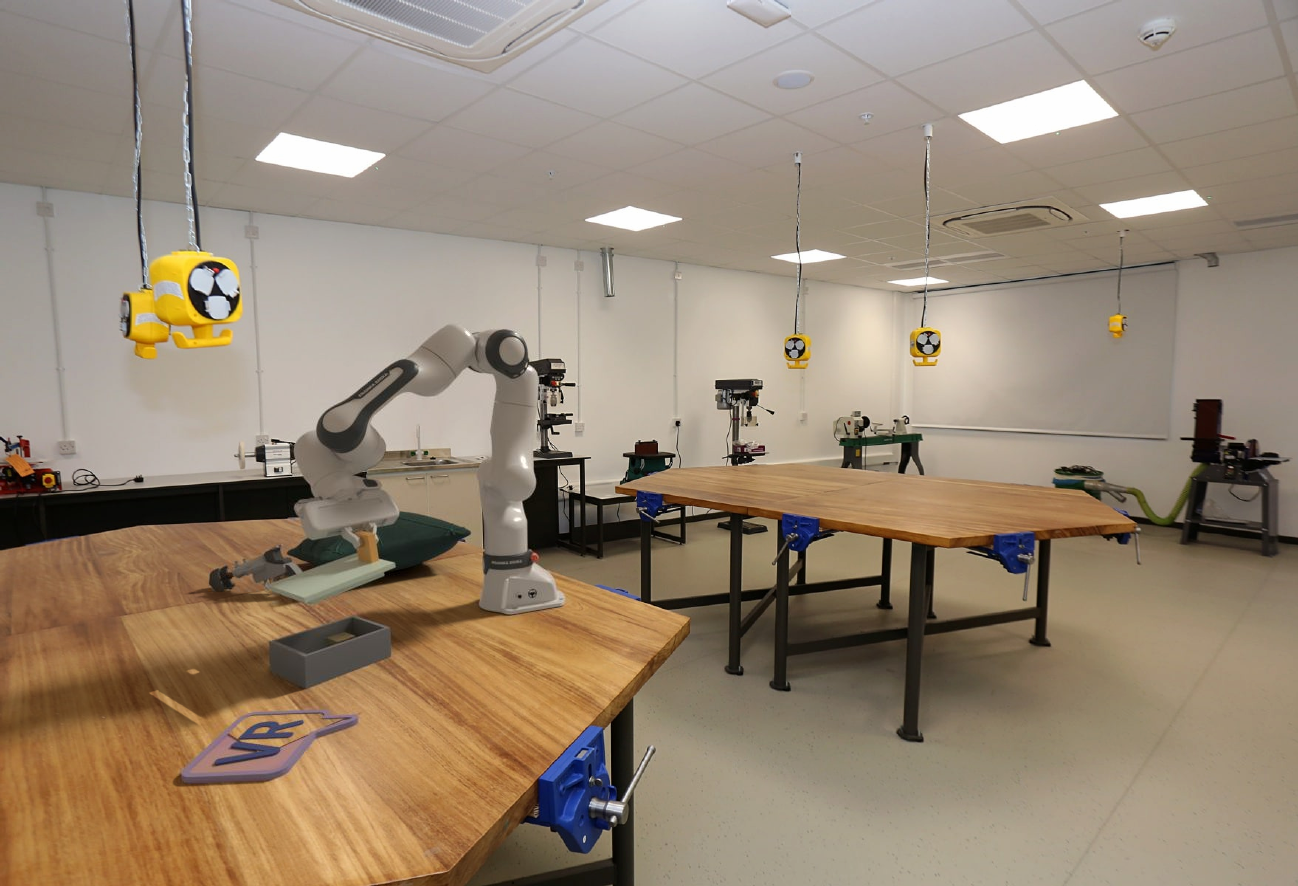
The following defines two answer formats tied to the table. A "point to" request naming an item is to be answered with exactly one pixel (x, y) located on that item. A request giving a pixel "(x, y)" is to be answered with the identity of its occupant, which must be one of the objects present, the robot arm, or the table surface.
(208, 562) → the table surface
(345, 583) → the lid
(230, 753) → the icon
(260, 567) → the grey mechanical piece
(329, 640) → the brass block
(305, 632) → the tub
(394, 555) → the pillow
